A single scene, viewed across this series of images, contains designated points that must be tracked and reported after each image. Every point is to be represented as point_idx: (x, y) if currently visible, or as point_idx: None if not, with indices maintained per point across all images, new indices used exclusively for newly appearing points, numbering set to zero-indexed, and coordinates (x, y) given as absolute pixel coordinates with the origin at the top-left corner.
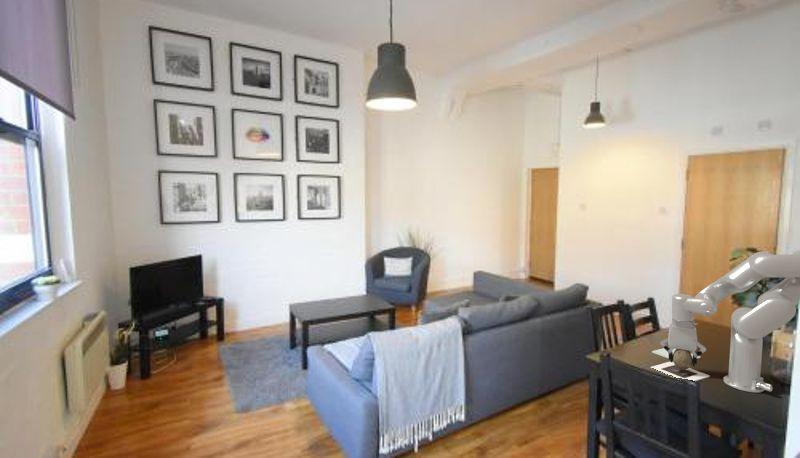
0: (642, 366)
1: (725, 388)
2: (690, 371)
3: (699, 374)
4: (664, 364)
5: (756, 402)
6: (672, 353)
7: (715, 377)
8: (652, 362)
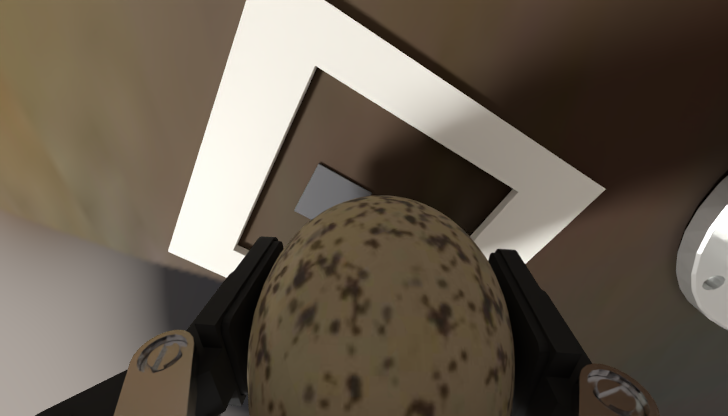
0: (121, 245)
1: (626, 328)
2: (452, 150)
3: (516, 209)
4: (231, 133)
5: (718, 407)
6: (243, 380)
7: (648, 171)
8: (129, 107)
